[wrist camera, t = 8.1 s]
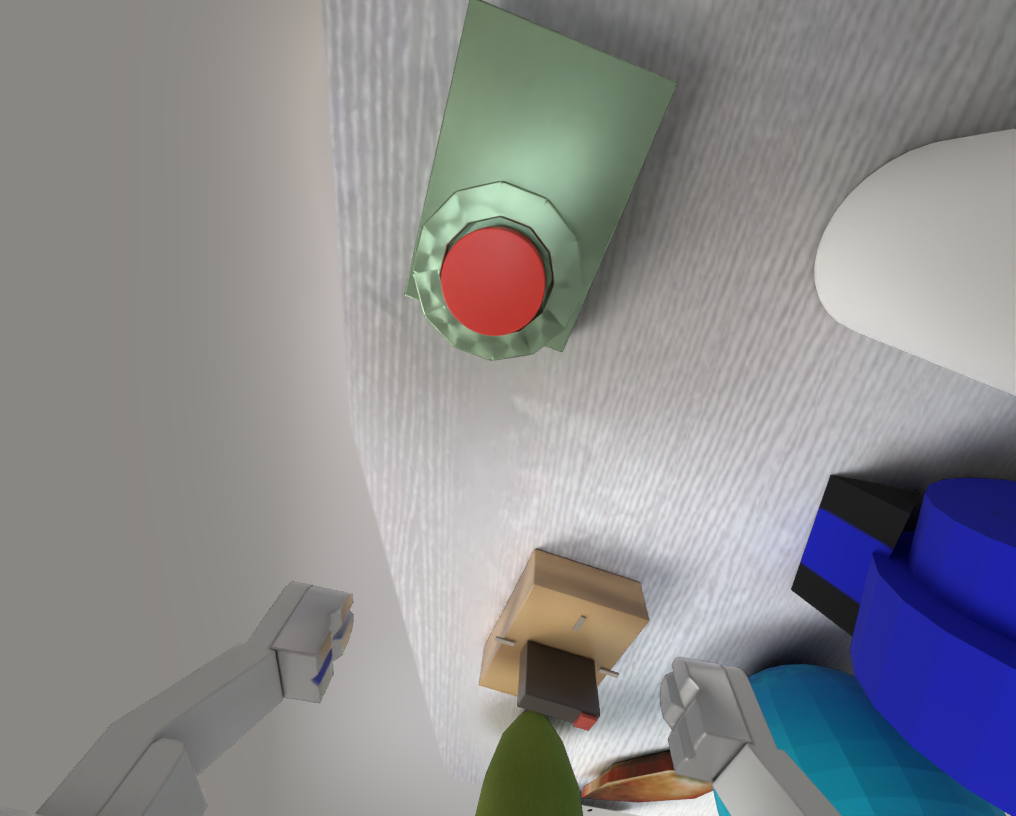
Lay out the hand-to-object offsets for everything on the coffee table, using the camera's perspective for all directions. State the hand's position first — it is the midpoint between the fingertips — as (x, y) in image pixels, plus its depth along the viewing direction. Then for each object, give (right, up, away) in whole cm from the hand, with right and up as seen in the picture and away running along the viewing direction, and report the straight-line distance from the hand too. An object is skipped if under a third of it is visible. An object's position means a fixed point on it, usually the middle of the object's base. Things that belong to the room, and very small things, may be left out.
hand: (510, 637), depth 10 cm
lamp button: (0, +11, +7) cm, 13 cm away
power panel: (+4, -10, +21) cm, 24 cm away
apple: (+2, -23, +28) cm, 36 cm away
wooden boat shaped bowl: (+13, -30, +27) cm, 43 cm away
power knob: (+3, -12, +18) cm, 22 cm away
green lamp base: (+1, +15, +9) cm, 18 cm away
